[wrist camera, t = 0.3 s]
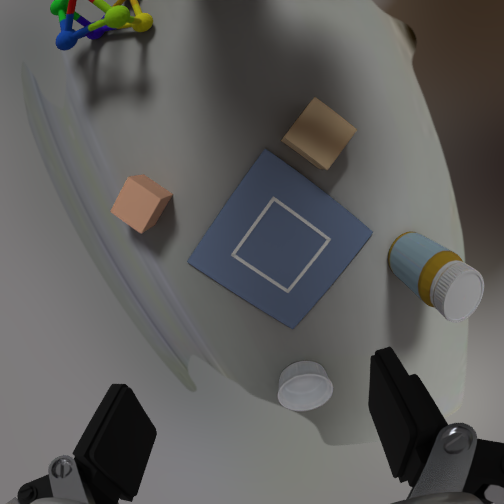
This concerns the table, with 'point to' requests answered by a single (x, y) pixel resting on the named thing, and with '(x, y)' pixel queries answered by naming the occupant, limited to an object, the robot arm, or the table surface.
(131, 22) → the educational toy
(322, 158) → the oak block
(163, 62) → the table surface
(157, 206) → the terracotta cube
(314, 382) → the ramekin
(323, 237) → the board
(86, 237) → the table surface
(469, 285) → the bottle
